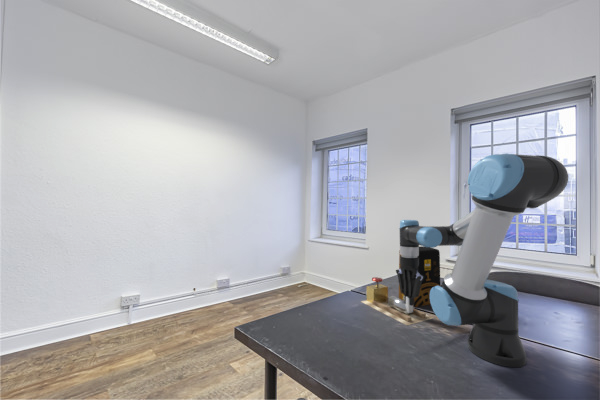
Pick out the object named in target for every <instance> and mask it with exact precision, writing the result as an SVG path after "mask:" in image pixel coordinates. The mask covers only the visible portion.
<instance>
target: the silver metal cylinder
mask: <svg viewBox="0 0 600 400" xmlns="http://www.w3.org/2000/svg"><path fill="white" fill-rule="evenodd" d="M388 305H389V306H390V307H392V308H394V309H396V310H399V311H401V312H403V313H405V314H407V315H410V314H412V312H411V313H407V312H406V303H405V301H404V300H402V299H400V298H399V297H397V296H395V295H390V296H388Z"/></svg>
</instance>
